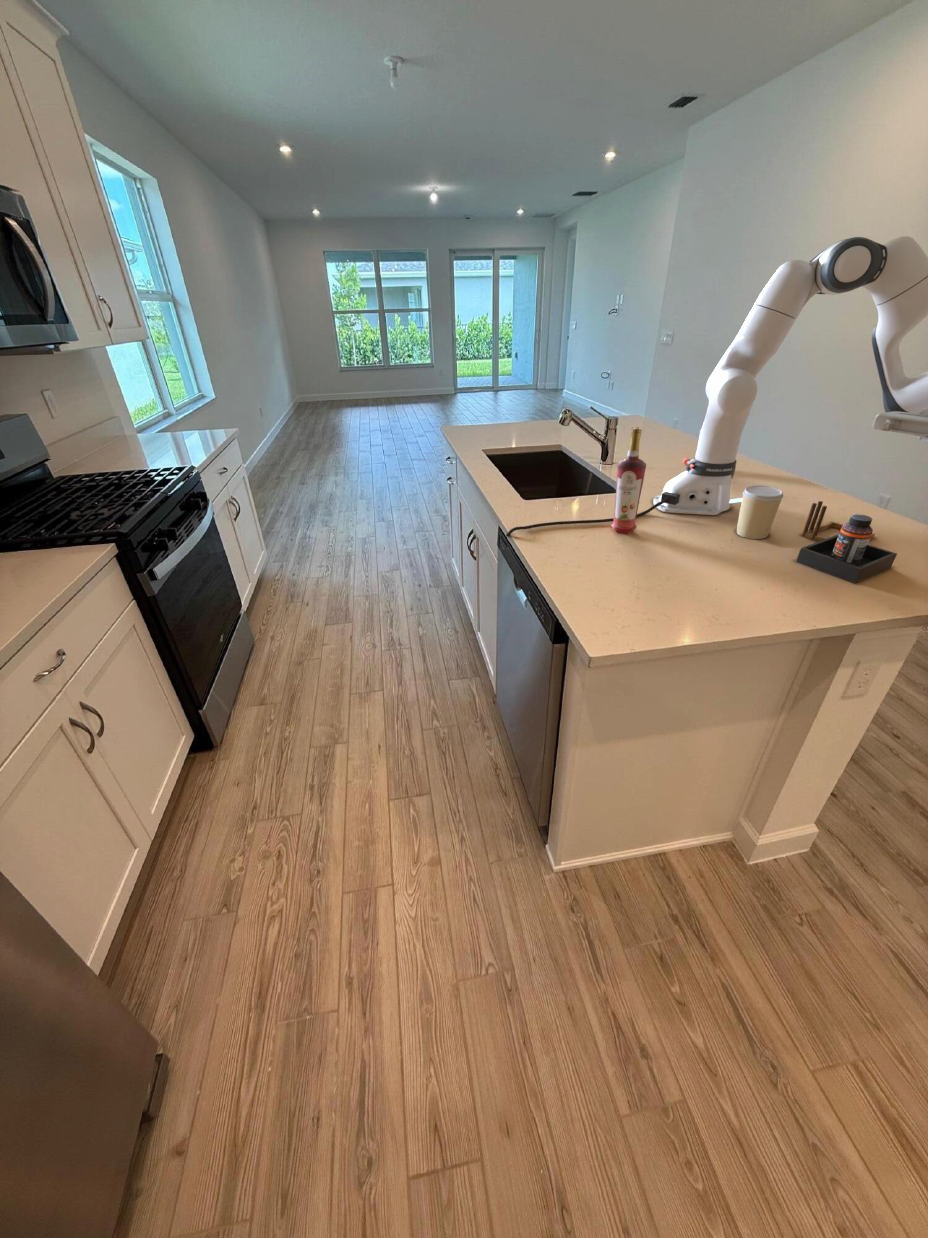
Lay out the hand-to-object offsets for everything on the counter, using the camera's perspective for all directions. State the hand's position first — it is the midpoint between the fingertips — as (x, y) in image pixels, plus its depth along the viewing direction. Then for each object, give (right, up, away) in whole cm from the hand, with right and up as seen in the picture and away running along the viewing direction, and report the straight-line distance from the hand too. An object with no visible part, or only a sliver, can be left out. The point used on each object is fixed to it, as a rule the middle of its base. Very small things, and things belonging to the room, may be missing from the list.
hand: (907, 430), depth 117 cm
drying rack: (-4, -22, +17) cm, 28 cm away
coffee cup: (-24, -20, +22) cm, 38 cm away
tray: (-12, -31, +4) cm, 33 cm away
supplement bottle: (-12, -30, +4) cm, 33 cm away
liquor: (-57, -19, +27) cm, 66 cm away
